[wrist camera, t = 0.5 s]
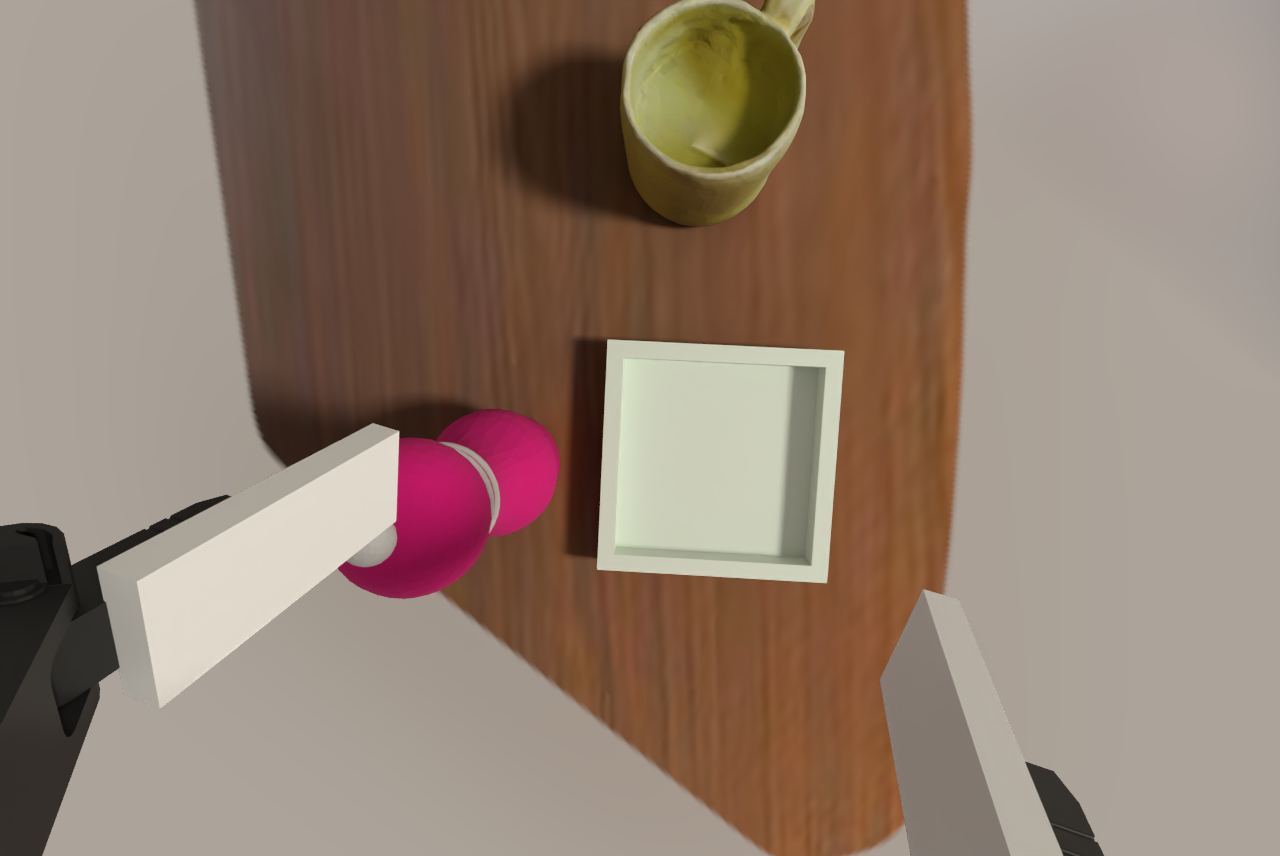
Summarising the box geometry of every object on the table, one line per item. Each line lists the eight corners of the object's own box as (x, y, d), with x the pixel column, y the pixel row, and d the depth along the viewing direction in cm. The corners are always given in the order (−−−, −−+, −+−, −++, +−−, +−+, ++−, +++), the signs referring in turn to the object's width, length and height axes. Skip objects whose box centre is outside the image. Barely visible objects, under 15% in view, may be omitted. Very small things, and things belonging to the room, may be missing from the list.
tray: (610, 342, 37) (607, 339, 35) (832, 353, 37) (844, 350, 35) (600, 558, 38) (596, 569, 36) (816, 571, 38) (826, 583, 36)
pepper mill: (445, 501, 38) (218, 626, 19) (471, 393, 38) (264, 403, 18) (552, 529, 38) (439, 685, 18) (579, 422, 38) (494, 463, 18)
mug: (693, 290, 35) (697, 171, 26) (593, 181, 38) (563, 38, 28) (847, 179, 37) (904, 28, 27) (740, 82, 40) (758, -85, 30)
